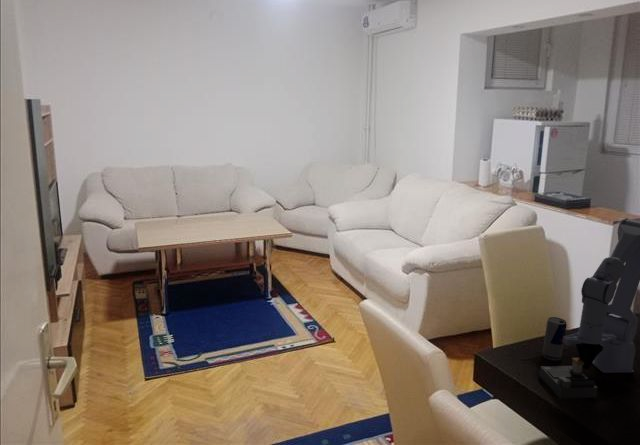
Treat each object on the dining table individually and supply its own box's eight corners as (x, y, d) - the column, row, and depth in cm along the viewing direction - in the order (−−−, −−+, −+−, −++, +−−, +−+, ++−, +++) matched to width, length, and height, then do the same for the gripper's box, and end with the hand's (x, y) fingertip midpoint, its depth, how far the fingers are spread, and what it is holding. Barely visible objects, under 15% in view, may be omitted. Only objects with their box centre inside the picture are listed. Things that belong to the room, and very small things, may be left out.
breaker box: (572, 375, 144) (575, 360, 143) (596, 397, 133) (599, 381, 132) (539, 375, 143) (541, 360, 142) (559, 398, 132) (562, 382, 131)
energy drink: (563, 362, 151) (569, 325, 148) (544, 360, 152) (549, 323, 149) (558, 353, 156) (564, 317, 153) (540, 351, 157) (545, 315, 154)
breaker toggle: (577, 369, 140) (579, 357, 139) (583, 375, 137) (585, 362, 136) (569, 369, 140) (571, 357, 139) (574, 375, 137) (576, 363, 136)
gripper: (606, 314, 140) (598, 358, 143) (558, 316, 138) (551, 360, 141) (625, 325, 133) (616, 371, 136) (575, 327, 131) (567, 374, 134)
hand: (584, 367), depth 138 cm, fingers closed
